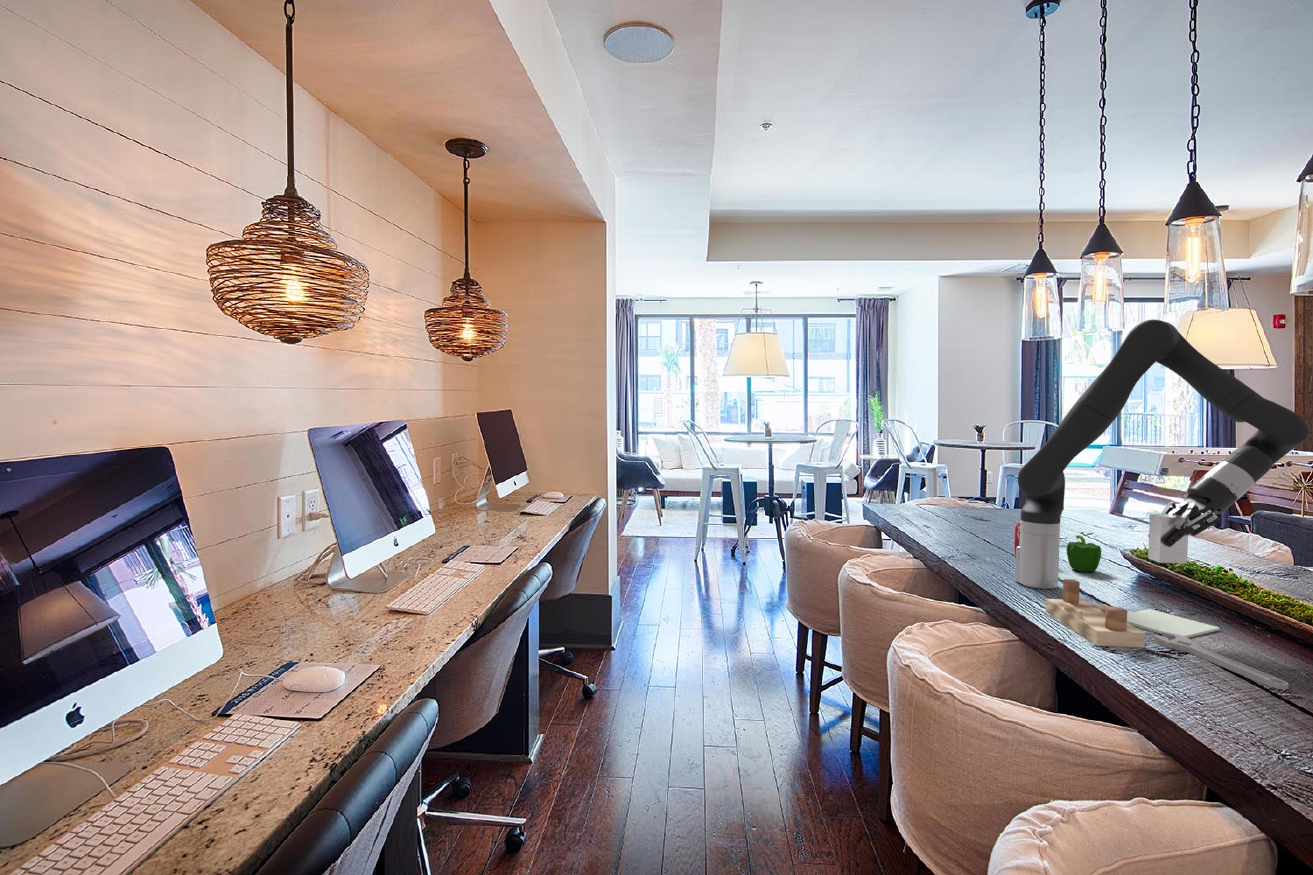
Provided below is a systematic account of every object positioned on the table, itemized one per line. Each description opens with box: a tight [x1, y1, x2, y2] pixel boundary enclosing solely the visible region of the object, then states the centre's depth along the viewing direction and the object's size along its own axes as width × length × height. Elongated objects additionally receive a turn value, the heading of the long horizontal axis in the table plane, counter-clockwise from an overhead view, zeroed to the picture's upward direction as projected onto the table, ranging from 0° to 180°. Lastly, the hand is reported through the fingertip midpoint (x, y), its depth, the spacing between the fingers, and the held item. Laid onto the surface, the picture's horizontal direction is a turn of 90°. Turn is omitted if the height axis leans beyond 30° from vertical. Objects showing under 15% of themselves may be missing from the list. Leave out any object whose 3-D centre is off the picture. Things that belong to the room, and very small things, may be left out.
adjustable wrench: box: [1153, 632, 1289, 690], centre depth 126 cm, size 25×6×2 cm, turn 2°
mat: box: [1127, 608, 1221, 639], centre depth 147 cm, size 14×14×1 cm
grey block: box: [1147, 513, 1189, 564], centre depth 146 cm, size 4×6×10 cm
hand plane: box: [1045, 578, 1146, 648], centre depth 145 cm, size 22×9×8 cm, turn 174°
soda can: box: [1013, 519, 1021, 559], centre depth 206 cm, size 7×7×12 cm
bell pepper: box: [1066, 534, 1102, 573], centre depth 194 cm, size 8×8×10 cm
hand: (1158, 541), depth 146 cm, fingers closed on grey block, 4 cm apart
